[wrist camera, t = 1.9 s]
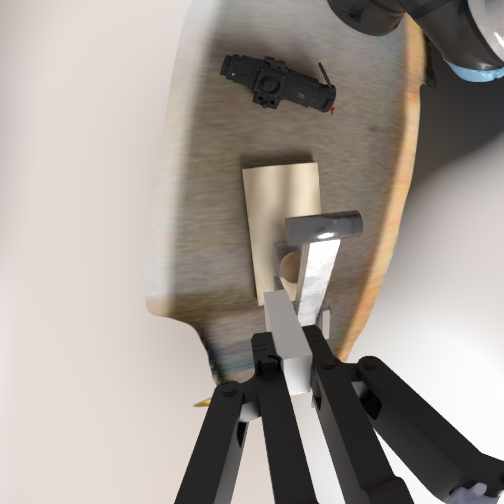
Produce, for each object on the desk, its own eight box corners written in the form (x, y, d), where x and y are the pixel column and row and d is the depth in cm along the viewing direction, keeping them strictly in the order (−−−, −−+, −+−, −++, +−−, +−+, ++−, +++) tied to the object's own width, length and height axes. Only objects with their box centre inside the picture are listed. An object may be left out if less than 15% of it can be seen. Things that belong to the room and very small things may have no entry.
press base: (313, 162, 44) (351, 167, 30) (319, 290, 52) (347, 336, 38) (241, 168, 43) (248, 175, 29) (257, 300, 51) (268, 351, 37)
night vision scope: (222, 78, 40) (238, 28, 31) (319, 110, 43) (344, 67, 35) (211, 97, 35) (229, 39, 27) (323, 134, 39) (353, 84, 31)
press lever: (354, 204, 25) (365, 223, 23) (323, 308, 41) (327, 323, 39) (284, 212, 25) (291, 232, 23) (279, 316, 41) (282, 331, 39)
